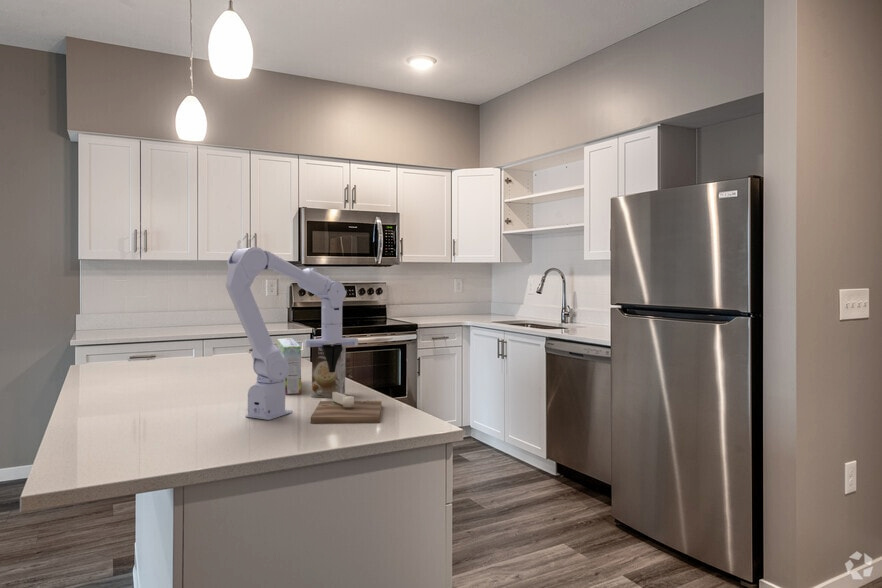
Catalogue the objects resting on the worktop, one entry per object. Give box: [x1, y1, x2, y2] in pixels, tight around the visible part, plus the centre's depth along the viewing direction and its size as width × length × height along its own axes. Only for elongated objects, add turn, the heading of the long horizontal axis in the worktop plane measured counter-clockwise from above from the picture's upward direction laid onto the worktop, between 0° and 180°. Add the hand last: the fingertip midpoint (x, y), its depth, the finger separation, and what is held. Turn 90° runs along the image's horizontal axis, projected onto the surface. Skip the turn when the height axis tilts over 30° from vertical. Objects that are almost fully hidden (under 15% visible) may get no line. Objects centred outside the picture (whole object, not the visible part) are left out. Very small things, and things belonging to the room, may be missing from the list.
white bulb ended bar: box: [331, 392, 355, 407], centre depth 158 cm, size 10×3×2 cm, turn 37°
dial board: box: [310, 400, 383, 424], centre depth 155 cm, size 18×17×2 cm
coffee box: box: [310, 343, 347, 399], centre depth 178 cm, size 9×6×16 cm
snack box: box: [277, 337, 302, 396], centre depth 189 cm, size 21×6×15 cm, turn 21°
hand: (331, 371), depth 166 cm, fingers closed
